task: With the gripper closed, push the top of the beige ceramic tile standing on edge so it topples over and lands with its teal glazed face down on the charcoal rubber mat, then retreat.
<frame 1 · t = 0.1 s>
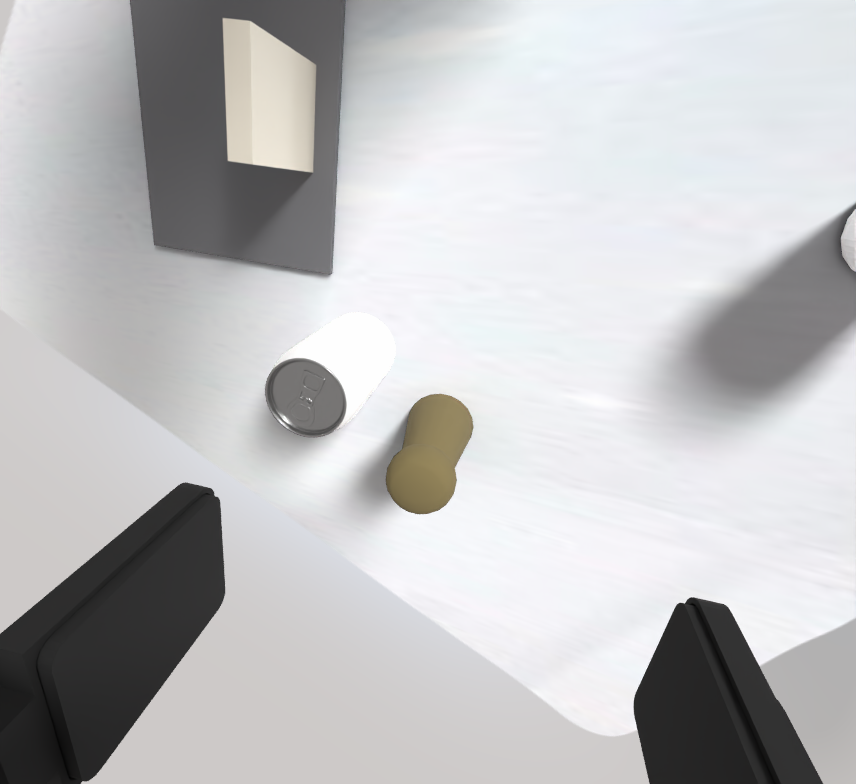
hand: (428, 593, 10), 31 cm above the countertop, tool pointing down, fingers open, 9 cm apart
cork: (440, 423, 43), on the countertop
can: (362, 346, 42), on the countertop
mat: (239, 112, 36), on the countertop
tile: (304, 119, 35), point 1 cm above the countertop, touching mat
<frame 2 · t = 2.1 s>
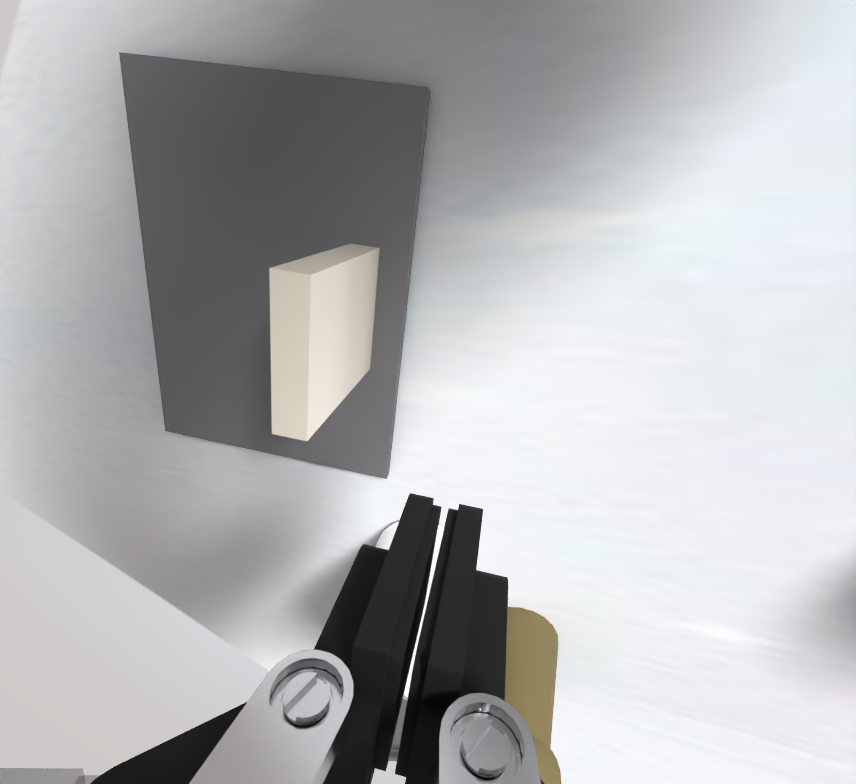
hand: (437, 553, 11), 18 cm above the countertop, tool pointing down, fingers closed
cork: (516, 635, 35), on the countertop
can: (422, 550, 34), on the countertop
mat: (275, 291, 28), on the countertop
tile: (361, 309, 27), point 1 cm above the countertop, touching mat
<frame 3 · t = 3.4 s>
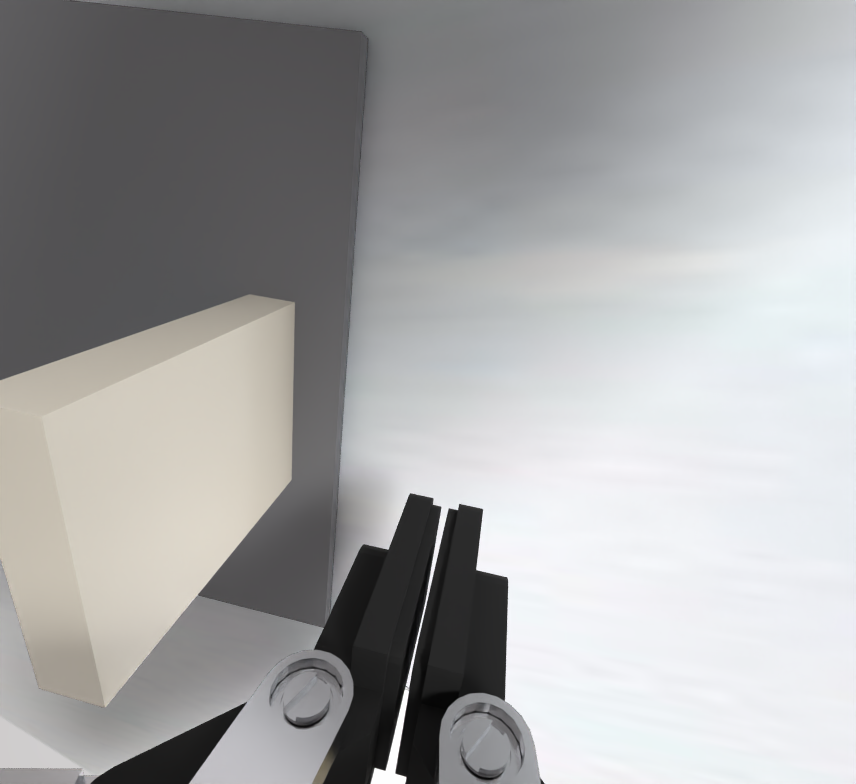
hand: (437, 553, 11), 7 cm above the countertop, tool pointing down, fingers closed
can: (381, 713, 24), on the countertop
mat: (145, 361, 18), on the countertop
tile: (272, 394, 17), point 1 cm above the countertop, touching mat
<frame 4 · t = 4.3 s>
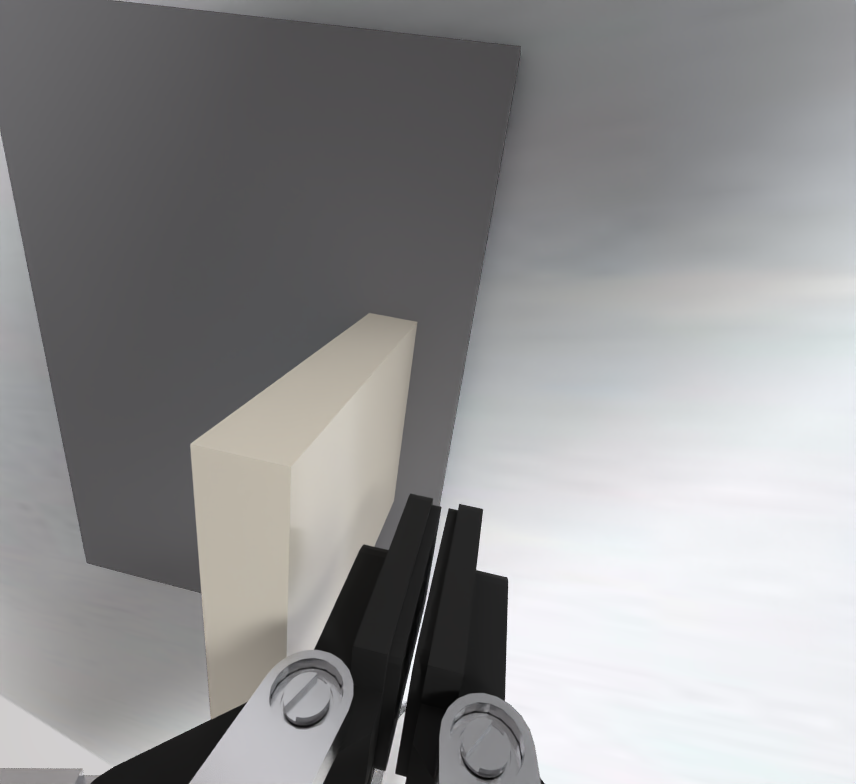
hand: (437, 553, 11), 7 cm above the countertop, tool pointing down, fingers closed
can: (460, 732, 23), on the countertop
mat: (245, 378, 18), on the countertop
tile: (382, 414, 16), point 1 cm above the countertop, touching gripper, mat
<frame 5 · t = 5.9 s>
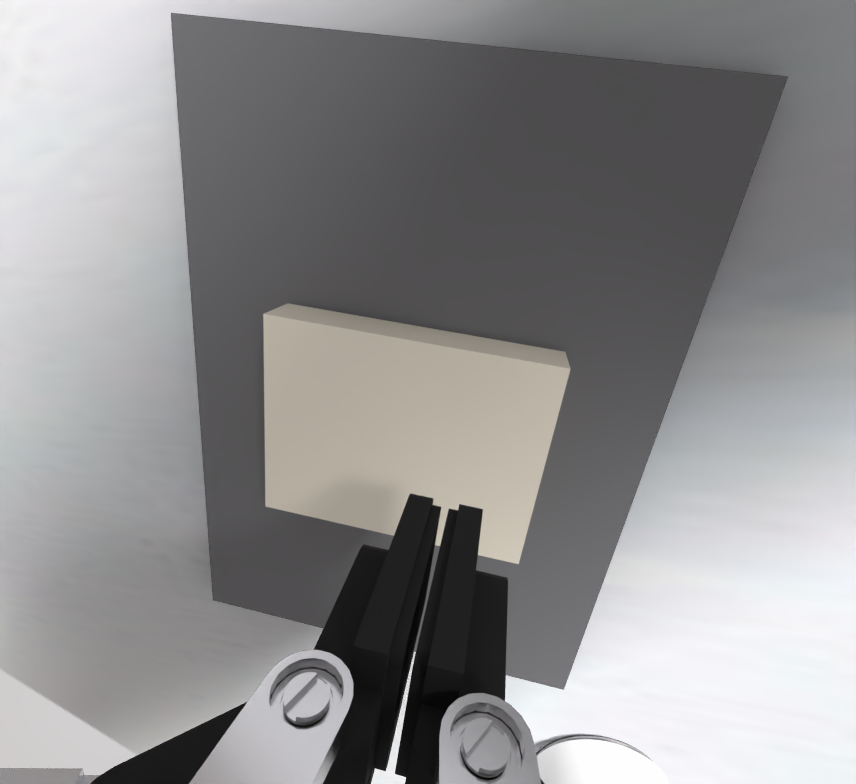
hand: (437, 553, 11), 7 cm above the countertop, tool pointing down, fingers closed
can: (594, 771, 23), on the countertop
mat: (411, 415, 17), on the countertop
tile: (540, 462, 15), point 2 cm above the countertop, tilted 90°, touching mat
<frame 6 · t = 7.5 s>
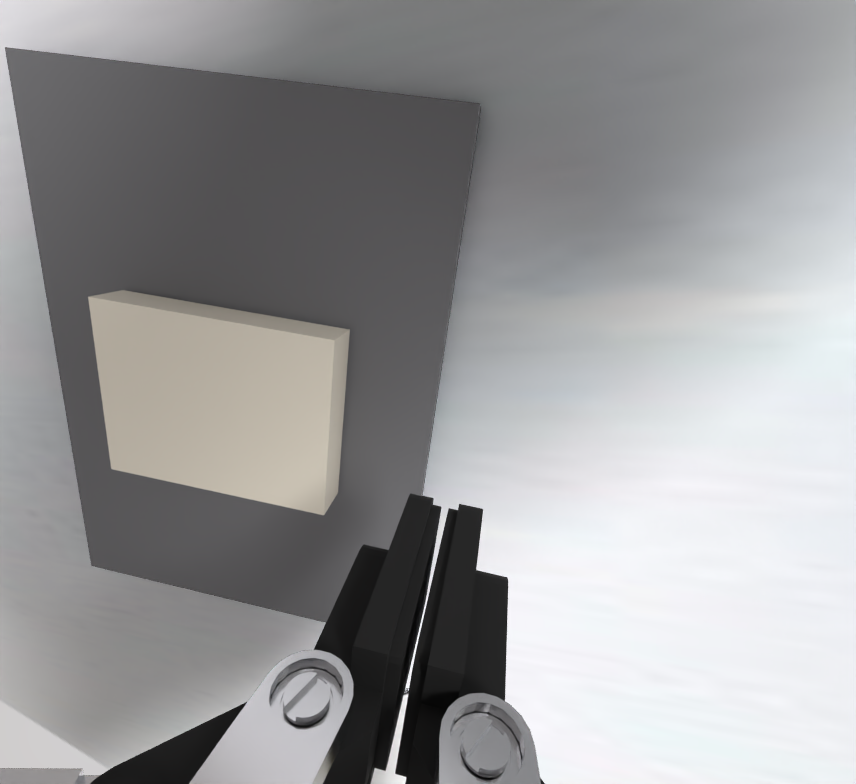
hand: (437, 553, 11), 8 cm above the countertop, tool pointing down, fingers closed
can: (445, 723, 25), on the countertop
mat: (243, 389, 19), on the countertop
tile: (336, 425, 17), point 2 cm above the countertop, tilted 90°, touching mat
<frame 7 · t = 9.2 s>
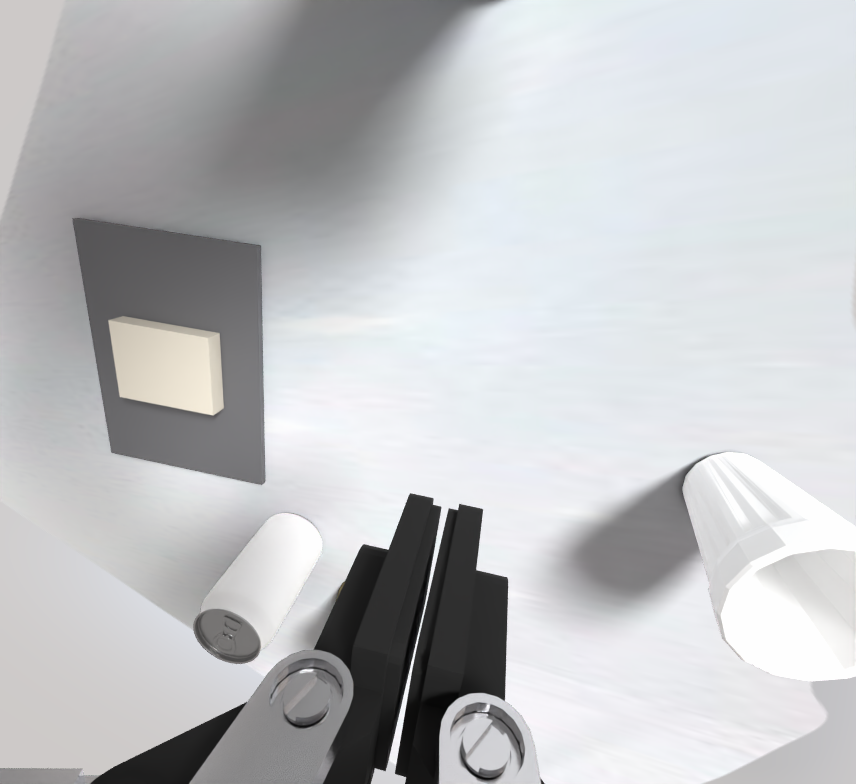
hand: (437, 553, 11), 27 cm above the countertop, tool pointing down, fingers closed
cup: (722, 483, 37), on the countertop
can: (294, 535, 47), on the countertop
mat: (179, 360, 42), on the countertop
tile: (216, 374, 40), point 2 cm above the countertop, tilted 90°, touching mat
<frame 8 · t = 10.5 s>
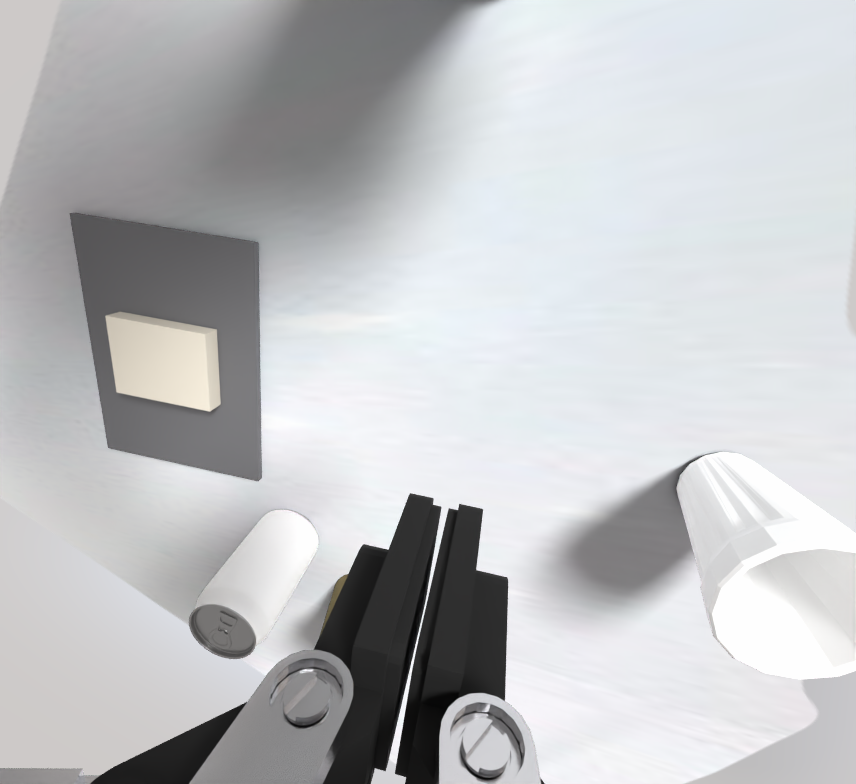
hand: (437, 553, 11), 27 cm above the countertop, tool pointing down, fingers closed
cup: (716, 482, 38), on the countertop
can: (291, 532, 48), on the countertop
mat: (176, 356, 42), on the countertop
tile: (213, 371, 40), point 2 cm above the countertop, tilted 90°, touching mat
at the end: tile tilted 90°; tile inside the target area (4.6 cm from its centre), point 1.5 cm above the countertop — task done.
